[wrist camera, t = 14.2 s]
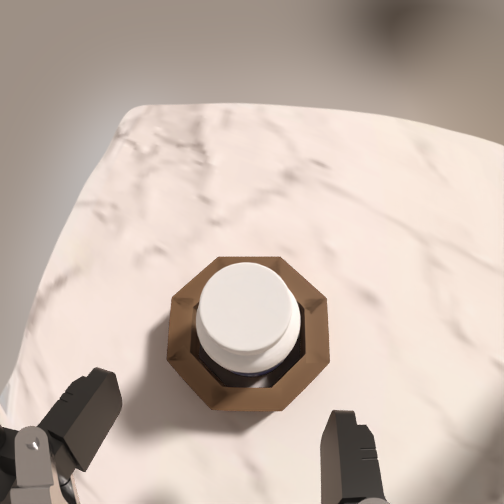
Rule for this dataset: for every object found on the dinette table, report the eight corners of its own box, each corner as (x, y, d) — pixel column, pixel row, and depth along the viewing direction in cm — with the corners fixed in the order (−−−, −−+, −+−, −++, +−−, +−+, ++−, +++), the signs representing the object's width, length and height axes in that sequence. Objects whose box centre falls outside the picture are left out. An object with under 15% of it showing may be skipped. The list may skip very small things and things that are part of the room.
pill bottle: (203, 363, 21) (162, 342, 12) (228, 296, 23) (207, 233, 14) (276, 387, 20) (288, 385, 11) (297, 317, 22) (322, 265, 13)
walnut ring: (250, 248, 25) (249, 229, 22) (347, 336, 21) (359, 328, 19) (153, 334, 22) (139, 326, 19) (248, 436, 19) (246, 443, 16)
